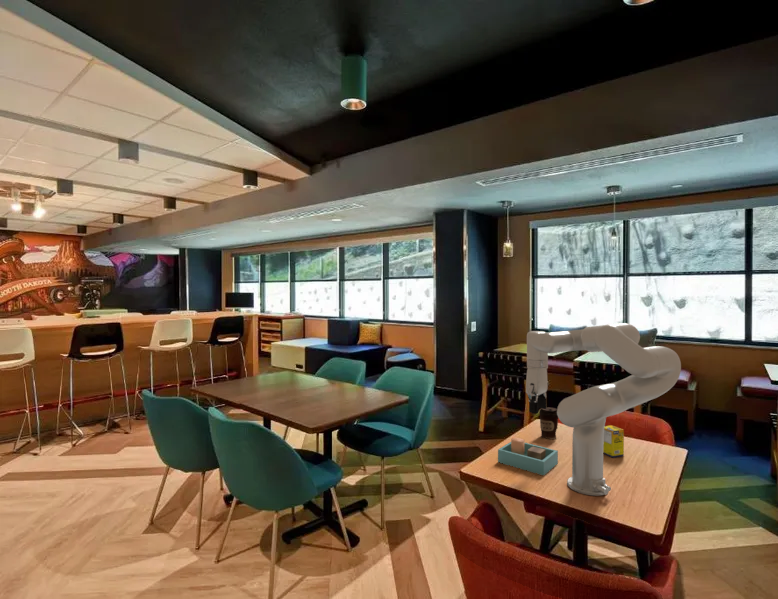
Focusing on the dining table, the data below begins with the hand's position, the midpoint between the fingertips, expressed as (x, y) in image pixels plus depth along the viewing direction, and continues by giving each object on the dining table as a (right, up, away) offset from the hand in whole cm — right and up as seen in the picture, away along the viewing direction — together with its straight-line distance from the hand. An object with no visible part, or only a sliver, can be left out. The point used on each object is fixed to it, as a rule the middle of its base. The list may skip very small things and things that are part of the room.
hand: (537, 410), depth 161 cm
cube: (0, -20, +1) cm, 20 cm away
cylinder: (-6, -20, +6) cm, 22 cm away
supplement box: (+34, -21, +11) cm, 42 cm away
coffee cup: (+16, -21, +32) cm, 41 cm away
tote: (-3, -21, +3) cm, 22 cm away
